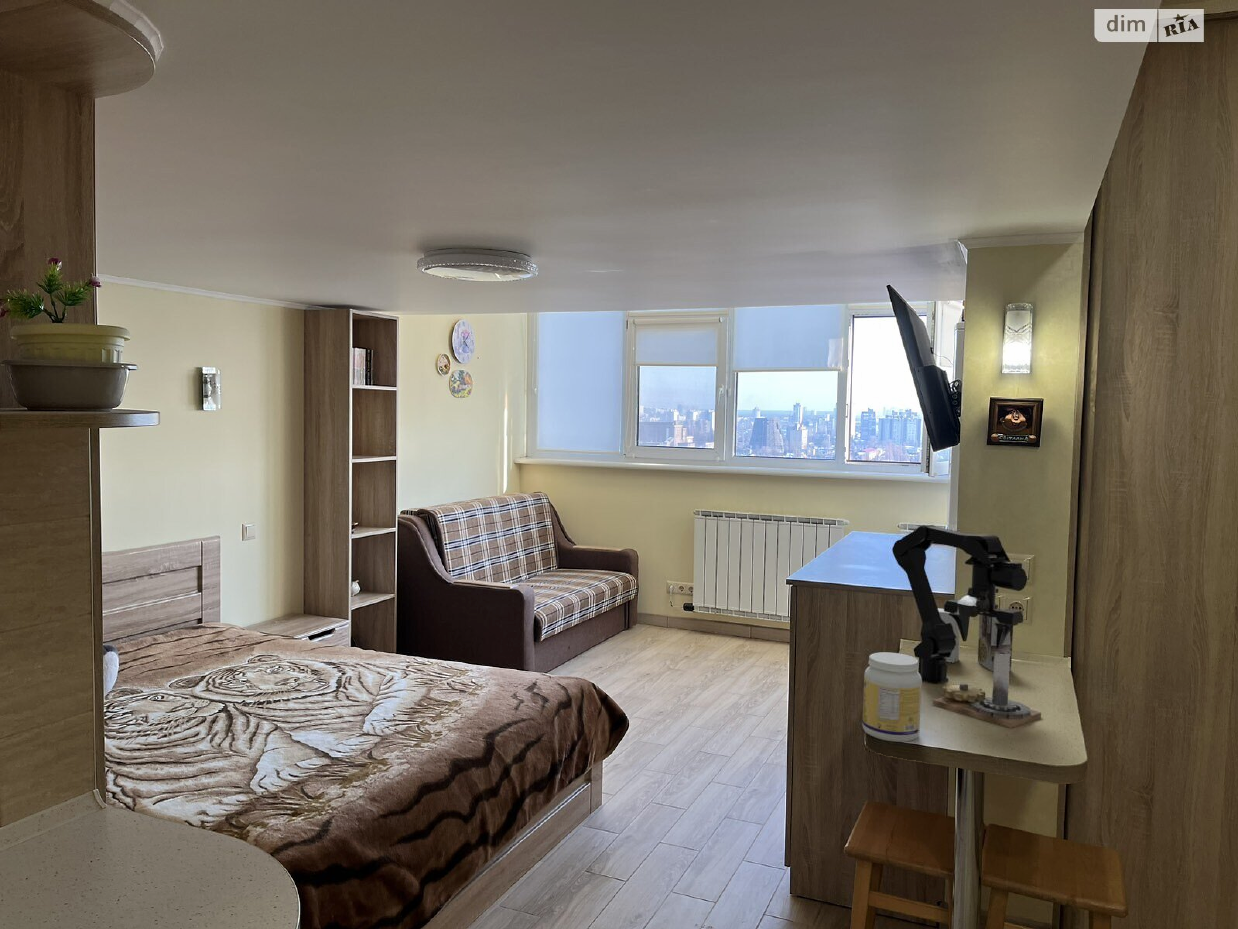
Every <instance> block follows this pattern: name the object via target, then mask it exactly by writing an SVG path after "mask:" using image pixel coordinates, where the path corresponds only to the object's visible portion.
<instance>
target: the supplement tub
mask: <svg viewBox="0 0 1238 929" xmlns="http://www.w3.org/2000/svg"><path fill="white" fill-rule="evenodd" d="M868 665H869V666H868V667H866V668H865V670H864V675H863V677H864V678H863V680H864V681H863V697H862V698H863V701H862V702H863V703H862V724H861V725H862V728H863V730H864V731H865V733H866V734H868V735H869V736H871V737H874V738H876V739H879V740H882V741H888V742H892V743H893V742H895V743H905V742H911V741H914V740H916V739H917V738H918V737H919V735H920V733H921V732H920V731H921V730H920V728H921V726H920V725H921V710H922V709H921V708H922V707H921V705H922V684H923V680H922V678H921V675H920V674H919V673H918V669H919V659H917V657H915V656H911V655H907V654H904V653H898V652H890V651H889V652H887V651H886V652H885V651H884V652H881V651H880V652H875V653H872V654H870V655H869V657H868Z"/></svg>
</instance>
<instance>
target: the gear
mask: <svg viewBox="0 0 1238 929" xmlns="http://www.w3.org/2000/svg"><path fill="white" fill-rule="evenodd" d="M1009 664H1010V654H1008V653H1004V652H995V653H994V670H993V676H992V697H991V698H992V699H987V701H986V700H984V701H983V707H985V708H988V709H991V710H995V711H1002V712H1016V710H1017V706H1016V704H1014V703H1010V702H1009V701H1008V700H1009V686H1010V684H1009V682H1010V671H1009Z"/></svg>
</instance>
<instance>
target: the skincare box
mask: <svg viewBox="0 0 1238 929" xmlns="http://www.w3.org/2000/svg"><path fill="white" fill-rule="evenodd" d="M937 608H938V607H937ZM938 611H939V614H940V617H941V619H942V620H943V621H944V622H945V623H951V624H952V626H953V631H954V634H955V635H956V637H957V638H955V640H956V646H955V648H954V649H953V651H952V653H951V655H950V657H946V658H945V659H946V663H951V662H952V663H951V664H953V663H954V662H955V661H956V662H957V661H958V660H959V659H960V631H959V628H958V625H957V623H956V621H955V619H954V618H953V617H952V616H949V614H948V613H950V612H945V611H944V608H940V607H939V608H938ZM956 662H955V663H956Z"/></svg>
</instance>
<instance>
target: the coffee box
mask: <svg viewBox="0 0 1238 929" xmlns="http://www.w3.org/2000/svg"><path fill="white" fill-rule="evenodd" d="M995 610H998V611H999V610H1002V609H1001V608H998V609H995ZM986 613H989V612H986ZM978 616H979V618H978V619H979V620H978V646H977V647H978V649H977V650H978V651H977V663H978V662H979V663H980V664H979V663H978V664H979V665H981V664H982V665H981V666H982V667H984V668H985V669H987V670H989V671H994V653H995V652H1004V653H1008V654H1010V664H1009V672H1011V671H1012V659H1013V658H1012V656H1013V654H1012V653H1013V638H1014V637H1013V635H1014V626H1013V627H1012V629H1011V630H1010V631H1009V633H1008V635H1007V636H1006V638H1005V640H1004V642H1003V644H1002V646H1001V648H1000V649H997V648H996V639H997V627H996V625H995V623H998V620H997V619H996V618H995V617H990V616H985V615H980V614H978Z"/></svg>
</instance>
